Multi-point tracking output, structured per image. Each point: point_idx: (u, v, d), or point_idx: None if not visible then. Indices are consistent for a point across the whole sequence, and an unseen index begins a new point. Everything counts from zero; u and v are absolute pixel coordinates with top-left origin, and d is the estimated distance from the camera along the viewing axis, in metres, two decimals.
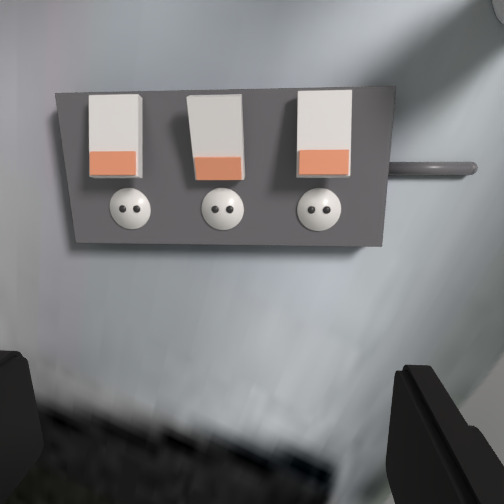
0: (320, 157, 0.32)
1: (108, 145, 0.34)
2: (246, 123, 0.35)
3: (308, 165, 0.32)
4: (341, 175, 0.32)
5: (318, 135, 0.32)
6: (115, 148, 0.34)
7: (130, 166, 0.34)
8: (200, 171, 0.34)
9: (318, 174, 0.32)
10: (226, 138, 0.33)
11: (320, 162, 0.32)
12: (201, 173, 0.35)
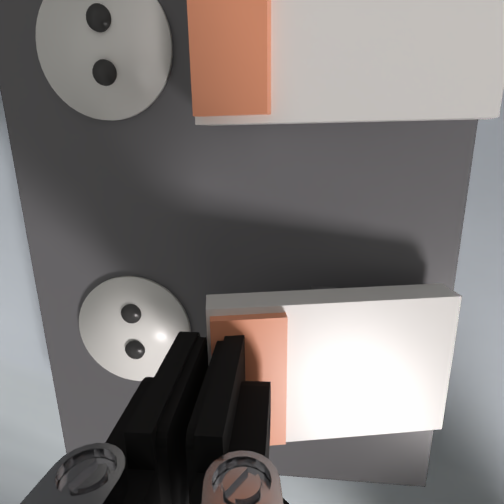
0: (263, 376, 0.11)
1: None
2: (370, 128, 0.11)
3: None
4: None
5: (328, 360, 0.11)
6: None
7: None
8: None
9: None
10: (339, 56, 0.09)
11: (248, 378, 0.10)
12: None
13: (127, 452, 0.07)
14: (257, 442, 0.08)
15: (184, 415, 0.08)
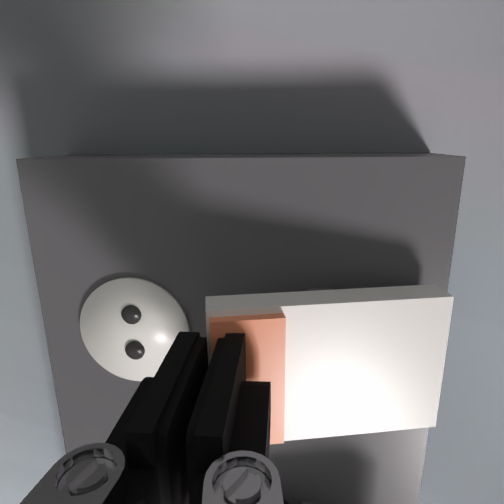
0: None
1: (302, 361, 0.11)
2: None
3: None
4: None
5: None
6: (293, 382, 0.11)
7: None
8: None
9: None
10: None
11: None
12: None
13: (127, 452, 0.07)
14: (257, 442, 0.08)
15: (184, 415, 0.08)
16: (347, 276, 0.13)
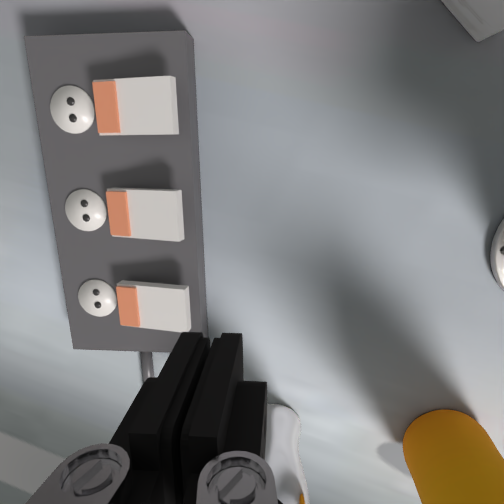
0: (130, 304, 0.37)
1: (123, 101, 0.32)
2: None
3: (123, 294, 0.37)
4: None
5: (149, 303, 0.37)
6: (121, 109, 0.33)
7: (104, 128, 0.33)
8: (113, 196, 0.35)
9: None
10: (145, 224, 0.35)
11: (126, 304, 0.37)
12: (111, 197, 0.35)
13: (131, 453, 0.07)
14: (252, 442, 0.08)
15: None
16: None
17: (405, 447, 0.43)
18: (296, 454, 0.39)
